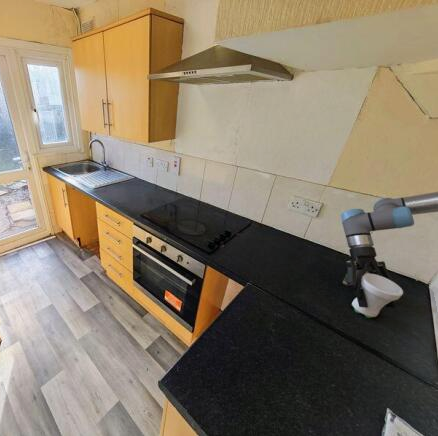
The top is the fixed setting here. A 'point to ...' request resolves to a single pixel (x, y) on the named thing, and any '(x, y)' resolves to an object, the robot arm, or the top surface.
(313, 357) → the top surface
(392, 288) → the cup
